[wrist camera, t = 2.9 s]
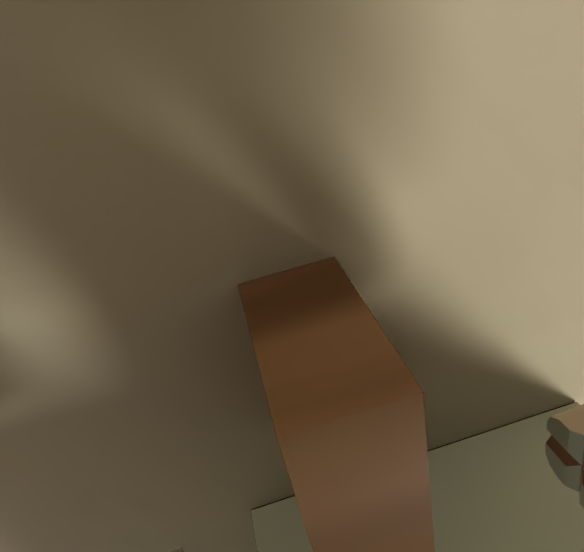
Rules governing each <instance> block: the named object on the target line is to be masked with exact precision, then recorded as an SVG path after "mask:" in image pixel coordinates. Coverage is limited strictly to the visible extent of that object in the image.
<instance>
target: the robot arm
mask: <svg viewBox="0 0 584 552" xmlns="http://www.w3.org/2000/svg"><path fill="white" fill-rule="evenodd" d="M546 429H547V430H548V431H549V432H550V433H551V434H552V435H551V436H550V437H549V439H548V440H547V441H546V443H545V454H546V456H547V459H548V462H549V465H550V467H551V468H552V470H553V472H554V473H555V475H556V476H557V477H558V479H559V480H560V481H561V482H562V483H563V485H564V486H566V487H569V488H571V489H573V490H575V491H577V492H578V493H579V504H580V505H581V506H582V507H583V508H584V404H583V405H580V406H577V407H575V408H572V409H569V410H567V411H564V412H561V413H559V414H556V415H553V416H551V417H550V418H549V419H548V420H547V428H546ZM172 552H184V550H183V549H182V548H181V549H178V550H175V551H172Z"/></svg>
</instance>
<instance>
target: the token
mask: <svg viewBox="0 0 584 552" xmlns="http://www.w3.org/2000/svg"><path fill="white" fill-rule="evenodd" d="M238 288H239V292H240V296H241V300H242V304H243V308H244V311H245V315H246V319H247V323H248V327H249V331H250V335H251V339H252V343H253V346H254V350H255V354H256V358H257V362H258V366H259V370H260V374H261V378H262V381H263V385H264V389H265V393H266V397H267V401H268V405H269V409H270V413H271V416H272V420H273V424H274V428H275V432H276V436H277V440H278V443H279V446H280V449H281V452H282V456H283V459H284V462H285V465H286V468H287V471H288V475H289V478H290V481H291V484H292V487H293V491H294V494H295V497H296V500H297V503H298V507H299V510H300V513H301V516H302V519H303V522H304V526H305V529H306V532H307V535H308V538H309V542H310V545H311V548H312V551H313V552H435V546H434V533H433V519H432V505H431V491H430V477H429V464H428V450H427V436H426V422H425V409H424V395H423V391H422V389H421V388H420V386H419V385H418V383H417V382H416V380H415V379H414V377H413V376H412V374H411V372H410V371H409V369H408V368H407V366H406V365H405V363H404V362H403V360H402V359H401V357H400V356H399V354H398V353H397V351H396V350H395V348H394V347H393V345H392V344H391V342H390V341H389V339H388V338H387V336H386V335H385V333H384V332H383V330H382V329H381V327H380V325H379V324H378V322H377V321H376V319H375V318H374V316H373V315H372V313H371V312H370V310H369V309H368V307H367V306H366V304H365V303H364V301H363V300H362V298H361V297H360V295H359V294H358V292H357V291H356V289H355V288H354V286H353V285H352V283H351V282H350V280H349V278H348V277H347V275H346V274H345V272H344V271H343V269H342V268H341V266H340V265H339V263H338V262H337V260H336V259H335V257H332V258H328V259H325V260H321V261H318V262H314V263H311V264H307V265H304V266H301V267H297V268H294V269H290V270H287V271H283V272H280V273H276V274H273V275H269V276H266V277H262V278H259V279H255V280H252V281H249V282H245V283H242V284H238Z"/></svg>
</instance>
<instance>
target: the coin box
mask: <svg viewBox="0 0 584 552" xmlns="http://www.w3.org/2000/svg"><path fill="white" fill-rule="evenodd" d="M577 406H580V405H579V404H578V403H577V402H575V403H572V404H569V405H566V406H563V407H560V408H557V409H554V410H551V411H548V412H545V413H542V414H539V415H536V416H533V417H530V418H527V419H524V420H521V421H518V422H515V423H512V424H509V425H506V426H503V427H500V428H497V429H494V430H491V431H488V432H485V433H482V434H479V435H476V436H473V437H470V438H467V439H464V440H461V441H458V442H455V443H452V444H449V445H446V446H443V447H440V448H437V449H434V450H431V451H428V464H429V477H430V491H431V505H432V519H433V533H434V546H435V552H584V508H583V507H582V506H581V505H580V504H579V493H578V492H577V491H575V490H573V489H571V488H569V487H566V486H564V485H563V483H562V482H561V481H560V480H559V479H558V477H557V476H556V475H555V473H554V472H553V470H552V468H551V467H550V465H549V462H548V459H547V456H546V454H545V443H546V441H547V440H548V439H549V437H550V436H551V435H552V434H551V433H550V432H549V431H548V430H547V429H546V428H547V420H548V419H549V418H550V417H551V416H553V415H556V414H559V413H561V412H564V411H567V410H569V409H572V408H575V407H577ZM251 517H252V523H253V529H254V535H255V541H256V547H257V552H313V551H312V548H311V545H310V542H309V538H308V535H307V532H306V529H305V526H304V522H303V519H302V516H301V513H300V510H299V507H298V503H297V500H296V497H295V496H293V497H290V498H287V499H284V500H281V501H278V502H275V503H272V504H269V505H266V506H263V507H260V508H257V509H254V510H251Z"/></svg>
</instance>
